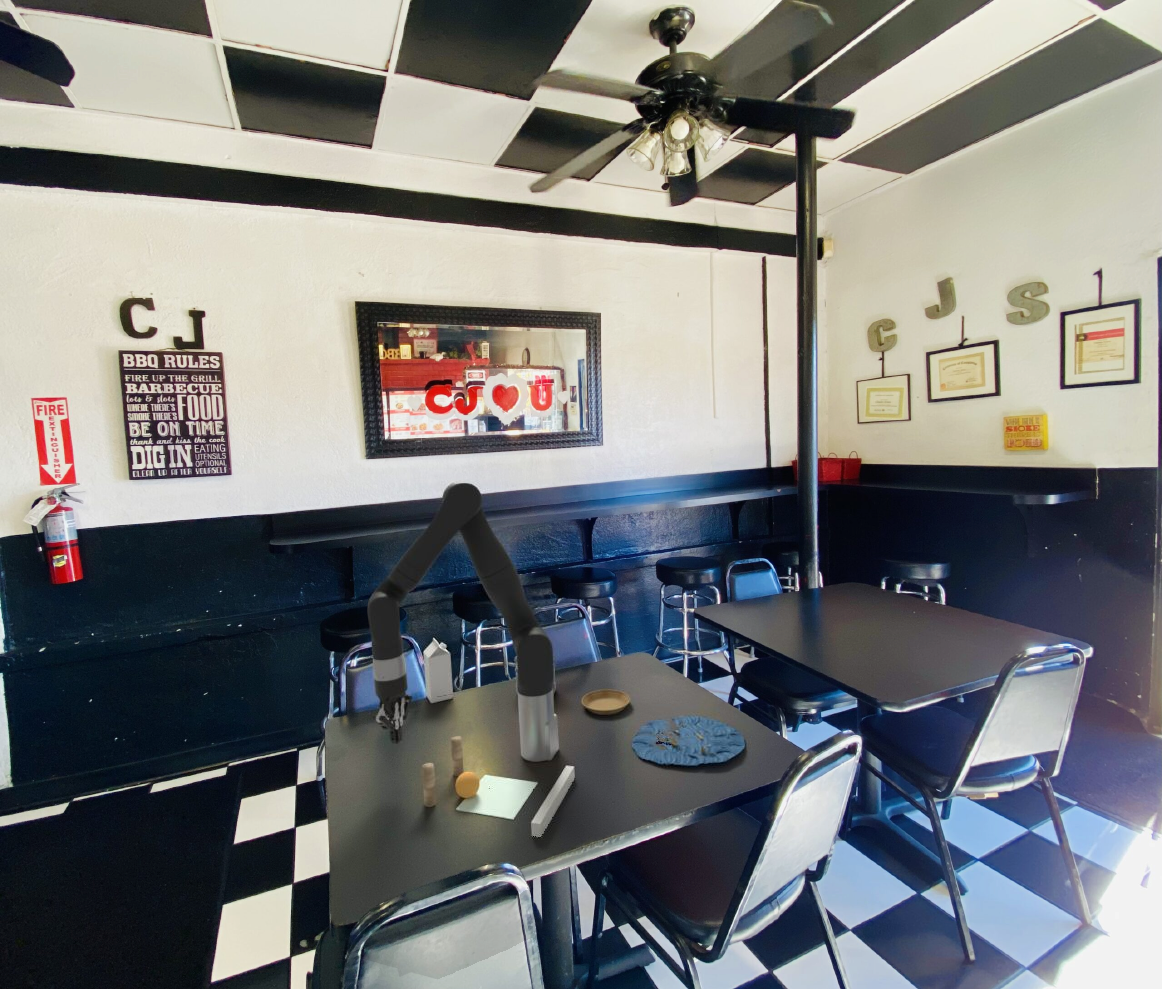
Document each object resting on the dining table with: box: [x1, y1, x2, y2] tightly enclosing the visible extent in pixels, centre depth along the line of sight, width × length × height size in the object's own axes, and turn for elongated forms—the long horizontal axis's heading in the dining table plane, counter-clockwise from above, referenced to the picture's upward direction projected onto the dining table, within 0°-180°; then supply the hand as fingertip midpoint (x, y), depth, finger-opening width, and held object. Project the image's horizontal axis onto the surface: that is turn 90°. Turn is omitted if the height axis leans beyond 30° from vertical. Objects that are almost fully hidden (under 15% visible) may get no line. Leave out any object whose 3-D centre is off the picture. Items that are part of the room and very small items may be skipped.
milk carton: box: [423, 637, 454, 704], centre depth 190 cm, size 7×7×19 cm
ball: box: [454, 771, 480, 799], centre depth 135 cm, size 6×6×6 cm
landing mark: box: [455, 774, 539, 821], centre depth 135 cm, size 14×14×1 cm
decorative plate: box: [631, 715, 746, 767], centre depth 155 cm, size 30×30×5 cm
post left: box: [421, 762, 437, 808], centre depth 133 cm, size 3×3×9 cm
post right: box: [450, 735, 465, 777], centre depth 145 cm, size 3×3×9 cm
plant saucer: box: [581, 689, 631, 716], centre depth 179 cm, size 15×15×3 cm
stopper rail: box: [530, 765, 576, 838], centre depth 131 cm, size 2×22×3 cm, turn 162°
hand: (396, 741), depth 143 cm, fingers closed
